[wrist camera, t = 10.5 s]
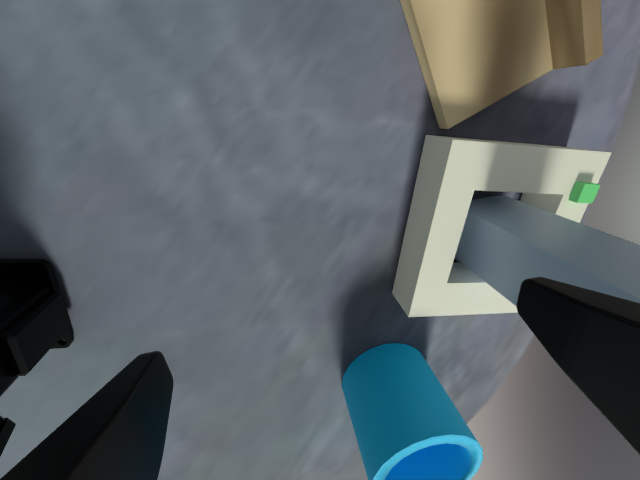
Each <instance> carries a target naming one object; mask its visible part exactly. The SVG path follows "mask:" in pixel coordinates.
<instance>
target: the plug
mask: <svg viewBox="0 0 640 480" xmlns="http://www.w3.org/2000/svg"><path fill="white" fill-rule="evenodd" d="M455 258H456V259H457V260H458V261H459V262H461V263H462V264H463V265H464V266H466V267H467V268H468V269H470V270H471V271H472V272H473V273H475V274H476V275H477V276H478V277H480V278H481V279H482V280H483V281H485V282H486V283H487V284H489V285H490V286H491V287H492V288H494V289H495V290H496V291H497V292H499V293H500V294H501V295H503V296H504V297H505V298H506V299H508V300H509V301H510V302H511V303H513V304H514V305H515V306H516V304H517V299H518V295H519V290H520V286H521V283H522V282H523V280H525V279H528V278H534V277H544V278H548V279H552V280H556V281H559V282H563V283H567V284H570V285H574V286H578V287H582V288H585V289H589V290H593V291H597V292H600V293H604V294H608V295H611V296H615V297H619V298H623V299H626V300H630V301H634V302H638V303H640V245H638V244H635V243H633V242H630V241H627V240H624V239H622V238H619V237H616V236H613V235H611V234H608V233H605V232H603V231H600V230H597V229H594V228H591V227H589V226H586V225H583V224H581V223H578V222H575V221H573V220H570V219H567V218H564V217H562V216H559V215H556V214H553V213H551V212H548V211H545V210H542V209H540V208H537V207H534V206H532V205H529V204H526V203H523V202H521V201H518V200H515V199H512V198H510V197H507V196H504V195H498V196H492V197H486V198H480V199H474V200H471V204H470V207H469V210H468V214H467V217H466V220H465V224H464V227H463V231H462V234H461V237H460V241H459V244H458V247H457V251H456V254H455Z"/></svg>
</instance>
